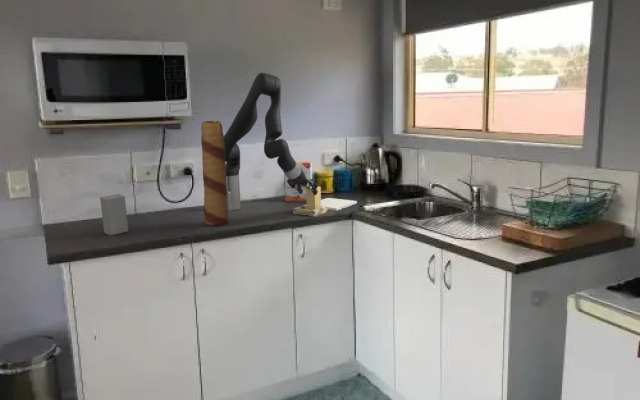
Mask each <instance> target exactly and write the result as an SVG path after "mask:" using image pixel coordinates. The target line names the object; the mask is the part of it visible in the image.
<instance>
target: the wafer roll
mask: <svg viewBox="0 0 640 400" xmlns="http://www.w3.org/2000/svg"><path fill="white" fill-rule="evenodd" d="M200 127H201V130H200V131H201V143H200V144H201V153H202V155H201V156H202V180H203V188H204V189H203V190H204V191H203V196H204V197H203V203H204V204H203V209H204V210H203V212H204V222H205V223H204V224H205V225H207V226H220V225H221V226H222V225H226V224H228V223H229V211H228V209H227V187H226V162H225V142H224V136H225V134H224V132H223V124H222V122H221V121H220V120H216V121H214V120H205V121H202V123H201V126H200Z"/></svg>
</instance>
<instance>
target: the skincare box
mask: <svg viewBox="0 0 640 400" xmlns="http://www.w3.org/2000/svg"><path fill="white" fill-rule="evenodd" d="M99 198H100V199H99V200H100V207H101V216H102V217H101V218H102V226H103V232H104V234H107V235H109V236H113V235H114V236H115V235H118V234H119V235H120V234H122V233H123V234H124V233H126V232H129V224H128V223H129V222H128V214H127V205H126V196H125V195H123V194H121V193H116V194H111V195H105V196H100V197H99Z"/></svg>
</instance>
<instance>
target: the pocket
mask: <svg viewBox="0 0 640 400" xmlns="http://www.w3.org/2000/svg"><path fill="white" fill-rule="evenodd" d="M325 213H328V210H327V207H325V206H324V207H321V208H318V209H315V210H307V203H306V204H303V205H300V206H297V207H294V208H293V209H292V214H293V215H299V214H300V216H306V215H308V217H313V216H314V217H317V216H320V215H323V214H325Z"/></svg>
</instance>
